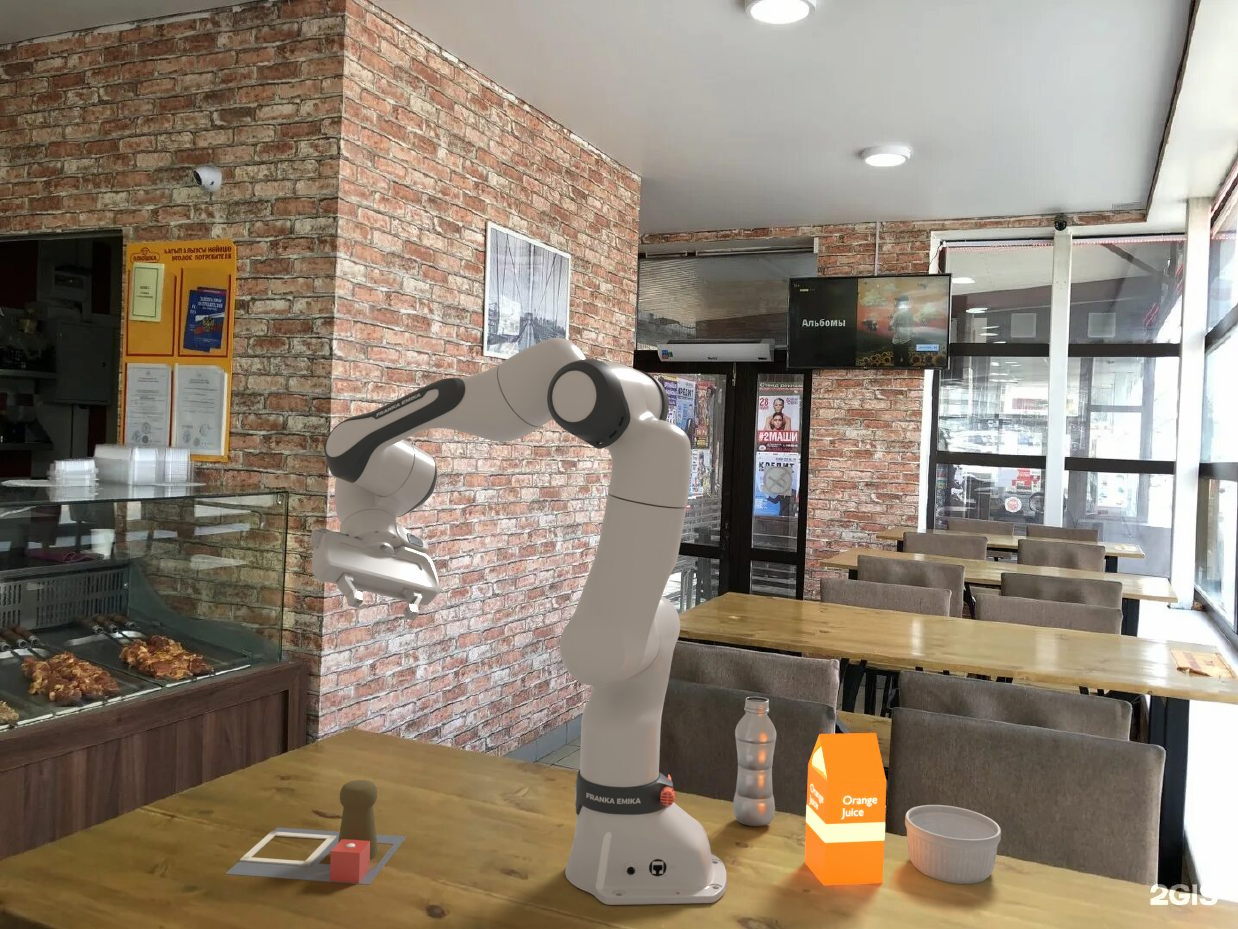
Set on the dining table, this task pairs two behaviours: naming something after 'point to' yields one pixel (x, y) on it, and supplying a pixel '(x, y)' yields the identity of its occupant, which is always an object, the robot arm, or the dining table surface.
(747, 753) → the plastic bottle
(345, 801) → the cork
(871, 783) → the orange juice
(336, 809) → the dining table surface
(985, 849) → the ramekin
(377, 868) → the grey and white frame
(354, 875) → the red cube
